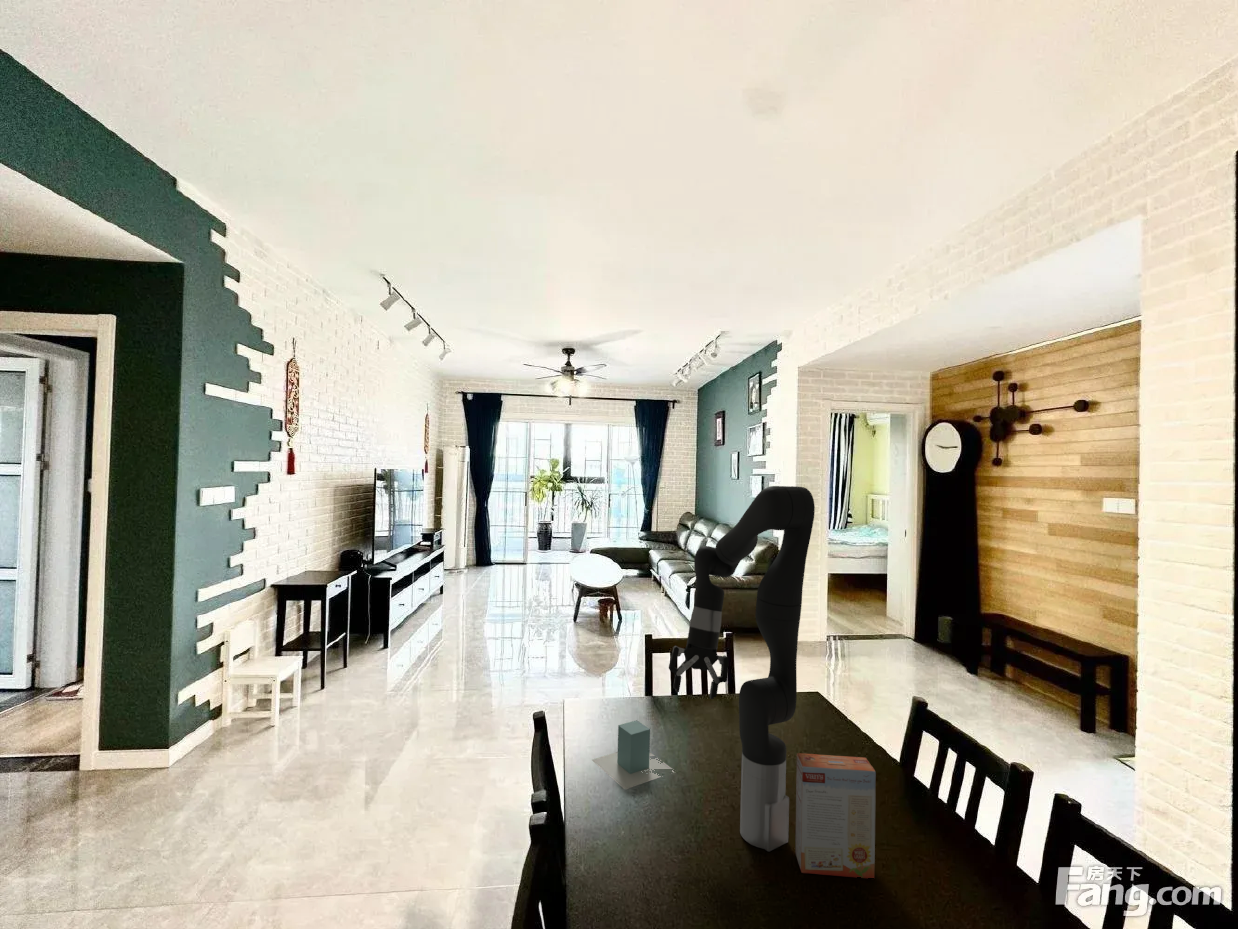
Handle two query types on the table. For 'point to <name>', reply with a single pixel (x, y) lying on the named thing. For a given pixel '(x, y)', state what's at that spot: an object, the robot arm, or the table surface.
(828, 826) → the cracker box
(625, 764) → the teal block
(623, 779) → the card
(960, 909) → the table surface
